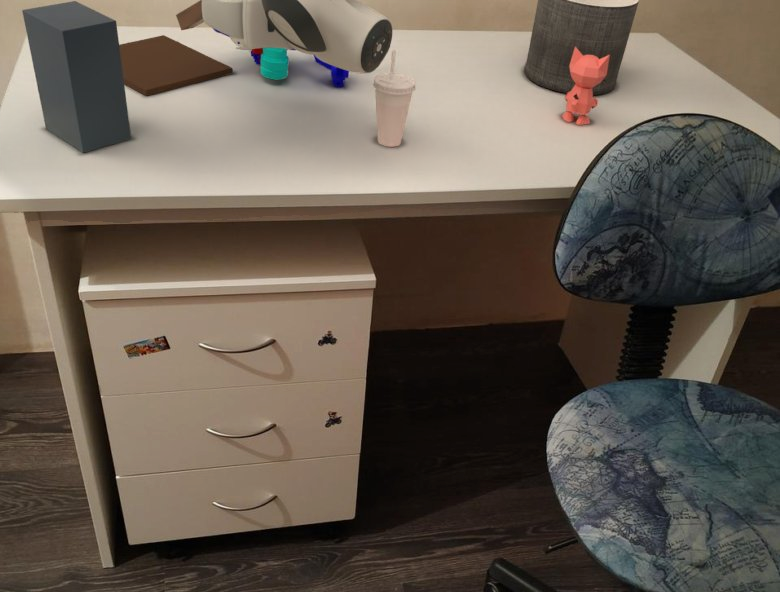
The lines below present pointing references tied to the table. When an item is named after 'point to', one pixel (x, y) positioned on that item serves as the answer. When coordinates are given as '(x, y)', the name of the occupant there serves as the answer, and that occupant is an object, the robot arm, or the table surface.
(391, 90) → the smoothie
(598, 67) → the cat figurine
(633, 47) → the table surface
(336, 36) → the robot arm
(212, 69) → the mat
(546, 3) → the planter
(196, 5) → the brown wooden bar
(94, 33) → the stand
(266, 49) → the robot toy
